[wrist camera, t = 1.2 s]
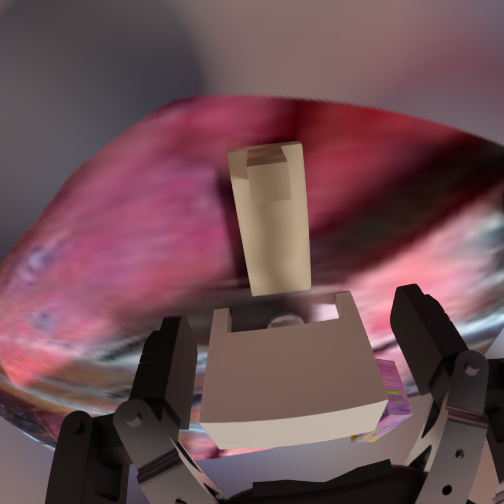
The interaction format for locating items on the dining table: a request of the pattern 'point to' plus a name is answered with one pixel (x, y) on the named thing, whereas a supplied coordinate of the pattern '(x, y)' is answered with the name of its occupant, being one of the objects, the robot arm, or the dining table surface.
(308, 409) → the notched block
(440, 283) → the dining table surface
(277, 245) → the stepped wooden block
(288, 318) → the puck
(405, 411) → the box
